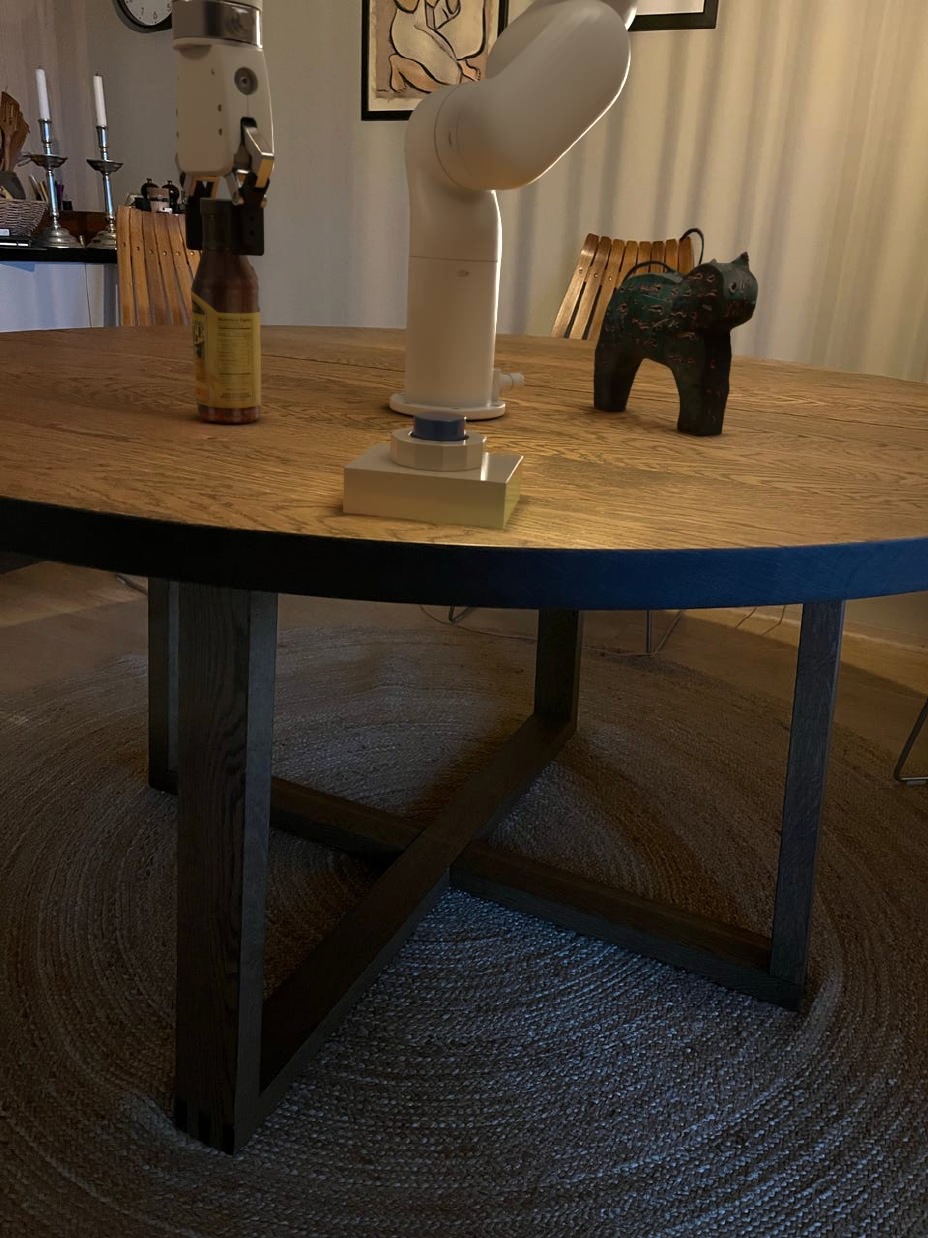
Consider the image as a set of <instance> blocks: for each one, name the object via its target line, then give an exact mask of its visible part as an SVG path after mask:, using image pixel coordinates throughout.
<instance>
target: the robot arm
mask: <svg viewBox="0 0 928 1238" xmlns="http://www.w3.org/2000/svg"><path fill="white" fill-rule="evenodd" d="M170 2H171V24H172V25H171V26H172V27H171V31H172V48H173V50H174V51H176V52H178V54H177V68H176V69H177V70H176V96H175V97H176V98H175V116H176V117H175V129H176V130H175V131H176V132H175V133H176V148H177V149H176V150H177V151H176V154H175V156H174V163H175V165H176V170H177V172H178V178H179V179H178V183H179V184H180V187H181V189H182V190H181V191H182V192H181V200H182V204H184V205H183V206H184V207H183V208H184V231H185V232H184V233H185V235H184V236H185V247H186V249H187V250H188V251H199V252H200V251H201V252H202V250H203V246H202V243H203V223H202V216H201V213H200V199H201V198H217V192H218V189H219V188H218V187H219V184H220V180H221V177H222V178H224V179H225V182H226V185H227V188H228V192H229V195H230V199H232V202H233V204H234V205H235V206H229V205H228V229H229V252H230V253H231V254H232V255H246V257H247V256H250V257H262V256H264V255H265V208H266V206H267V204H268V203H267V202H268V199H267V194H266V193H267V191H268V189H269V187H270V184H271V179H270V177H271V175H272V174H273V172H274V169H275V168H274V167H275V161H276V160H275V159H276V158H275V148H274V147H275V146H274V145H275V144H274V127H273V112H272V100H271V90H270V79H269V74H268V73H269V72H268V67H267V63H266V58H265V57H266V56H265V53H264V19H263V18H264V16H263V15H264V14H263V11H264V9H263V0H170ZM638 5H639V0H534V1H532V3H531V4H530V5H529V6H528V7H527V8H526V9H525V10H524V11H523V12H521V13H520V14H519V15H518V16H517V17H516V18H515V19H514V20H512V21H511V22H510V24H508V25H507V27H505V28H504V29H503V30H502V31H501V33H500V34H499V36H498V37H497V38H496V39H495V41H494V42H493V44H492V46H491V48H490V50H489V52H488V56H487V58H486V63H485V71H484V74H485V75H484V77H485V79H481V80H471V81H466V82H460V83H455V84H449V85H445V86H442V87H439V88H437V89H435V90H433V91H431V92H429V93H428V94H427V95H425V96H424V97H423V98H422V99H421V100H420V101H418V103H417V105H416V106H415V107H414V109H413V110H412V112H411V114H410V116H409V118H408V121H407V124H406V127H405V133H404V141H403V142H404V143H403V146H404V147H403V148H404V149H403V152H404V164H405V172H406V173H405V174H406V182H407V189H408V202H409V247H408V263H407V264H408V265H407V293H406V294H407V295H406V296H407V297H406V325H405V351H404V352H405V355H404V385H403V392H398V393H394V394H392V395H390V397H389V408H390V409H391V410H393V411H395V412H397V413H401V414H405V415H408V416H413V417H414V414H416V413H419V412H427V411H439V412H450V413H456V414H460V415H463V416H465V417H466V421H467V420H468V421H469V420H474V421H475V420H489V419H493V418H498V417H501V416H503V415H505V413H506V403H505V402H504V401H502V400H501V399H500V398H499V397H500V395H501V394H502V393H503V392H504V391H505V392H517V391H521V390H524V387H525V383H526V381H525V377H524V376H523V373H519V372H514V373H513V372H512V373H506V374H503V373H502V371H501V369H500V368H495V367H494V364H495V350H496V335H497V334H496V333H497V321H498V320H497V319H498V305H499V304H498V303H499V289H500V288H499V287H500V276H501V261H502V249H503V248H502V246H503V244H502V243H503V238H502V237H503V236H502V235H503V231H502V230H503V229H502V220H501V213H500V208H499V204H498V199H497V194H496V191H512V190H517V189H520V188H523V187H526V186H528V185H530V184H532V183H534V182H535V181H537V180H538V179H539V178H540V177H542V176H543V175H544V174H545V173H547V172H548V171H549V170H550V169H551V168H552V167H553V166H554V165H555V164H556V163H557V162H558V161H559V160H561V158H562V157H563V156H564V155H565V154H566V153H567V152H568V151H569V150H570V149H572V147H573V146H574V145H575V144H576V143H577V142H578V141H579V140H580V139H581V138H582V137H583V136H585V134H586V133H587V132H588V131H589V130H590V129H591V128H592V127H593V126H594V125H595V124H596V123H597V122H598V120H600V119H601V117H603V115H604V114H605V113H606V112H607V111H608V110H609V109H610V108H611V107H612V105H613V104H614V103H615V101H617V98H618V97H619V95H620V93H621V92H622V89H623V87H624V85H625V83H626V81H627V77H628V74H629V69H630V66H631V65H630V64H631V57H632V56H631V53H632V52H631V50H632V49H631V48H632V47H631V39H630V35H629V32H628V31H629V30H628V29H629V28H630V26H631V25H632V23H633V21H634V19H635V18H636V14H637V10H638ZM204 182H205V183H206V184H204ZM241 183H242V184H241Z"/></svg>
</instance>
